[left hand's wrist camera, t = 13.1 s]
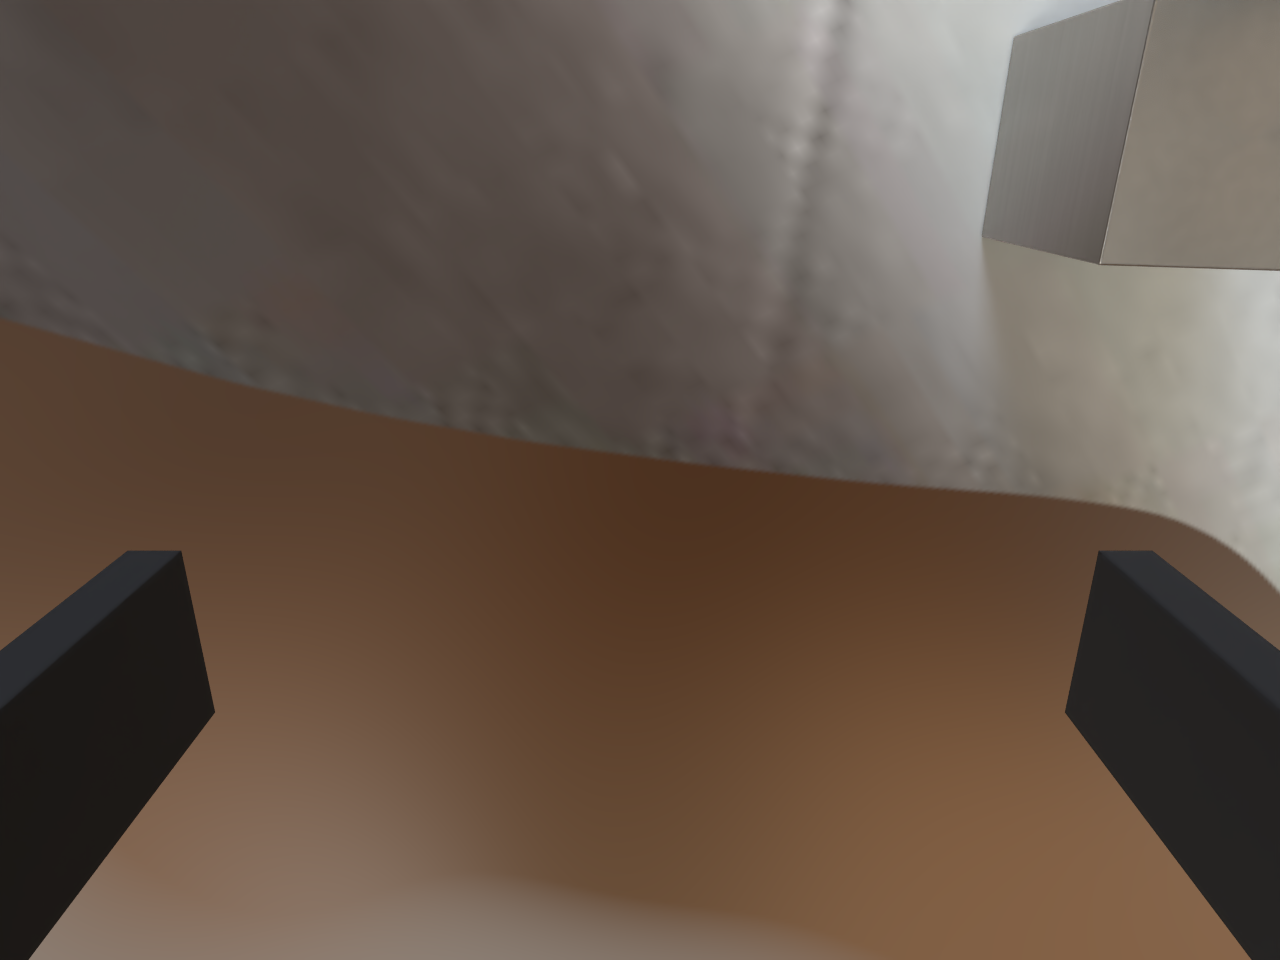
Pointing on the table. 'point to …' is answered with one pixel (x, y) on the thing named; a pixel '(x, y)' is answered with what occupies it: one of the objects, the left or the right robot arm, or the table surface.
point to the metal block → (1144, 137)
